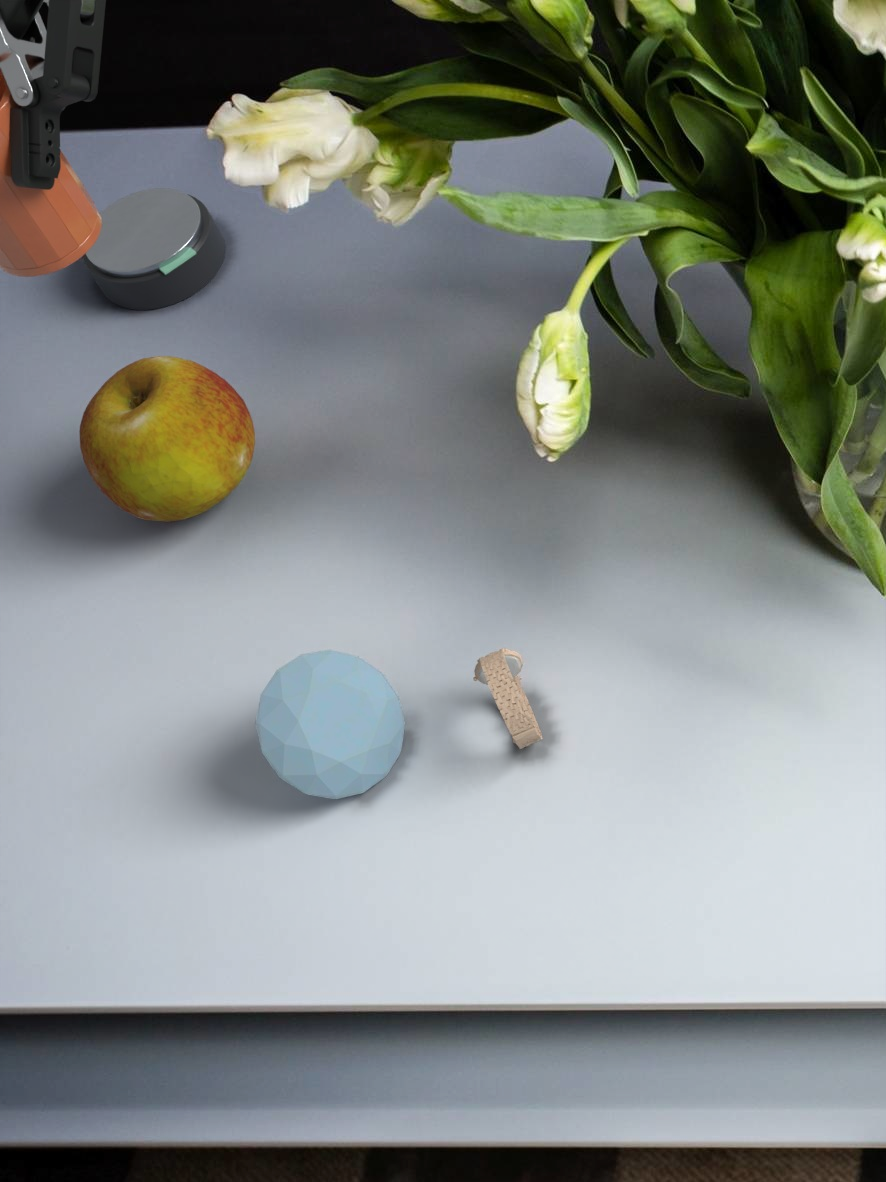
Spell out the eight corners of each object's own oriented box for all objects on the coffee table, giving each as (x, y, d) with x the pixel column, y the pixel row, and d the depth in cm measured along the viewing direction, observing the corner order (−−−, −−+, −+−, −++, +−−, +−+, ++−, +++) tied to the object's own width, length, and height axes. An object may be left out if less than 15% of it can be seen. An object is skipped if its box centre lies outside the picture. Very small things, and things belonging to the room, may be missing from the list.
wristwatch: (534, 681, 86) (507, 628, 82) (562, 751, 83) (536, 700, 79) (486, 701, 86) (457, 649, 81) (513, 772, 83) (485, 722, 79)
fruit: (161, 416, 99) (97, 322, 92) (298, 425, 98) (242, 330, 91) (98, 542, 94) (25, 453, 88) (240, 554, 93) (177, 464, 86)
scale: (143, 329, 104) (121, 295, 101) (76, 271, 107) (53, 237, 105) (250, 255, 106) (231, 220, 104) (181, 201, 110) (161, 166, 107)
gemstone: (199, 734, 82) (228, 720, 78) (303, 633, 86) (335, 615, 82) (309, 837, 85) (342, 828, 81) (406, 734, 89) (442, 721, 85)
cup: (27, 294, 86) (-73, 157, 78) (-27, 244, 88) (-129, 107, 81) (122, 230, 87) (34, 90, 80) (67, 183, 90) (-24, 44, 82)
